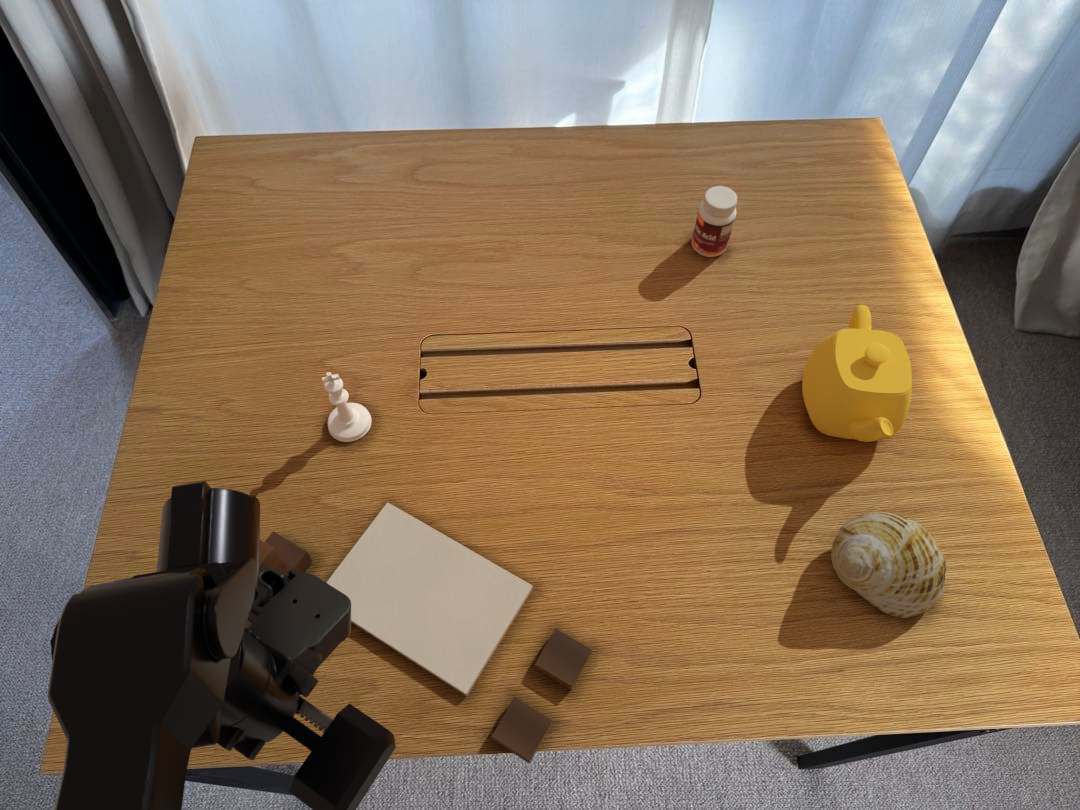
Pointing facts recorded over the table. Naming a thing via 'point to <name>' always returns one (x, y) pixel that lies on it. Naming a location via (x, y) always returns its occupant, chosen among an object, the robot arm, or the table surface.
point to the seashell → (890, 563)
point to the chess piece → (345, 412)
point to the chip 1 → (522, 730)
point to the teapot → (858, 382)
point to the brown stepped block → (282, 556)
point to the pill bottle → (715, 221)
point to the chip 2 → (563, 659)
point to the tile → (429, 597)
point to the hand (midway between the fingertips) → (294, 725)
